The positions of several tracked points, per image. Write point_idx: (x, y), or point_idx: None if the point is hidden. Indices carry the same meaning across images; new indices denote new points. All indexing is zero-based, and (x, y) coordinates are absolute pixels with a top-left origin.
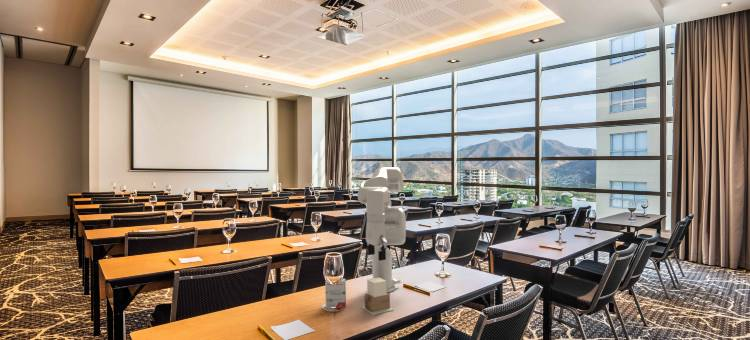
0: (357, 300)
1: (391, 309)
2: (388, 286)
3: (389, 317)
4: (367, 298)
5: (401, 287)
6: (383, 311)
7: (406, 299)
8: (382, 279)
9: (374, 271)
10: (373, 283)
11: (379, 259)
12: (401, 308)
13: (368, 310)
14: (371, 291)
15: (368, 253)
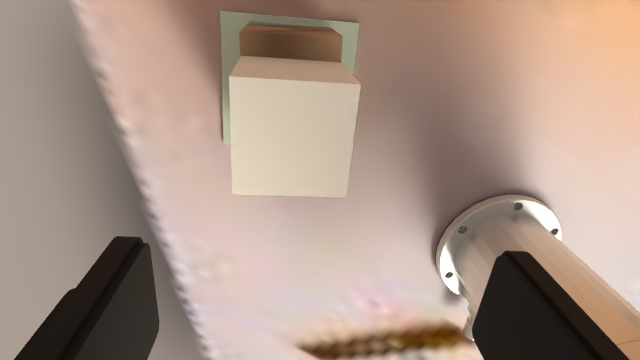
0: (466, 65)
1: (228, 137)
2: (460, 268)
3: (145, 73)
4: (299, 32)
5: (450, 315)
6: (224, 87)
7: (315, 261)
8: (281, 188)
9: (570, 274)
10: (237, 75)
11: (111, 248)
12: (228, 188)
13: (283, 23)
14: (279, 63)
15: (521, 268)
